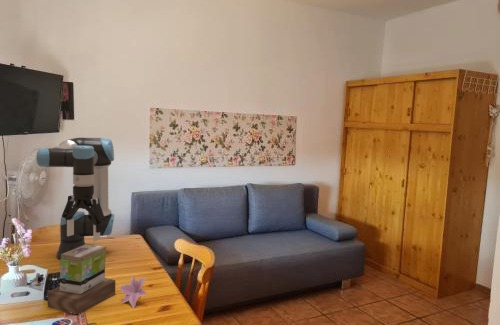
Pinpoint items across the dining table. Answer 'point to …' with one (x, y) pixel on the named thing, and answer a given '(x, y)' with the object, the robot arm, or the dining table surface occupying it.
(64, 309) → the walnut block
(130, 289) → the lily
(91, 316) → the dining table surface
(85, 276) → the tea box
